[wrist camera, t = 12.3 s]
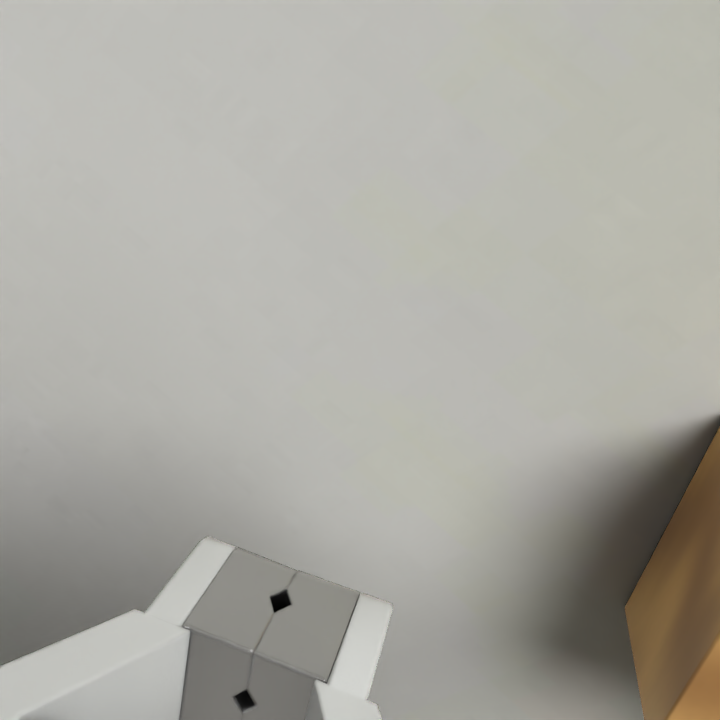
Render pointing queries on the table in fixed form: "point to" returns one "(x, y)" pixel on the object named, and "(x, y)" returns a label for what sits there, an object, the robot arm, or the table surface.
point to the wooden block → (682, 607)
